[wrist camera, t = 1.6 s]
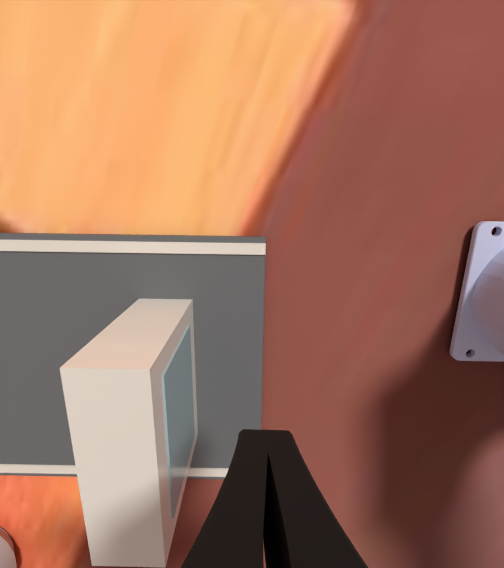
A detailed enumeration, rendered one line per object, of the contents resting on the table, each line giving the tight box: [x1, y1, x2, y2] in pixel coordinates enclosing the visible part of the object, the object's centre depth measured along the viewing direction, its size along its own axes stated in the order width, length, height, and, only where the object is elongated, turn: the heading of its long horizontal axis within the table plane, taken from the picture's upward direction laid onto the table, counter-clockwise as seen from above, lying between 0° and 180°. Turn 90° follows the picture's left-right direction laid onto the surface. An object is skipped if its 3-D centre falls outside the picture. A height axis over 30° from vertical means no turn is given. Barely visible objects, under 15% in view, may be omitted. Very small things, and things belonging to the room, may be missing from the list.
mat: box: [0, 233, 266, 479], centre depth 19 cm, size 20×16×1 cm
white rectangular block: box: [60, 299, 198, 567], centre depth 15 cm, size 3×9×8 cm, turn 179°
